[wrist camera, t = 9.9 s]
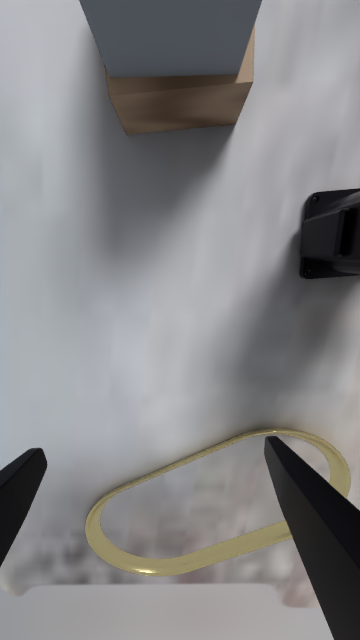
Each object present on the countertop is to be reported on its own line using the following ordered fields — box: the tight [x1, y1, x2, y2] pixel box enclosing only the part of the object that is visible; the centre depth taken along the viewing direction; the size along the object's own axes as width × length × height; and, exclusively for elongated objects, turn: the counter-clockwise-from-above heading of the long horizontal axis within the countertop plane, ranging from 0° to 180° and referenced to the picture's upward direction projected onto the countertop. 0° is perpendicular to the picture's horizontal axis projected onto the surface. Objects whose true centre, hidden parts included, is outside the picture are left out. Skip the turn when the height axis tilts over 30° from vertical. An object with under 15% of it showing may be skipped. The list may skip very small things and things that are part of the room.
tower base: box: [104, 24, 255, 135], centre depth 12 cm, size 8×8×4 cm
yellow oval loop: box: [85, 428, 351, 576], centre depth 26 cm, size 19×35×2 cm, turn 120°
